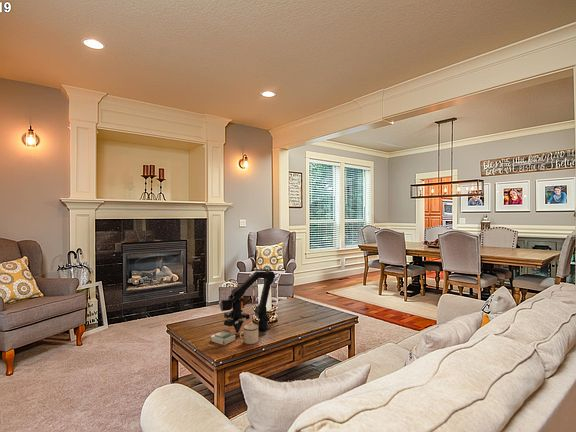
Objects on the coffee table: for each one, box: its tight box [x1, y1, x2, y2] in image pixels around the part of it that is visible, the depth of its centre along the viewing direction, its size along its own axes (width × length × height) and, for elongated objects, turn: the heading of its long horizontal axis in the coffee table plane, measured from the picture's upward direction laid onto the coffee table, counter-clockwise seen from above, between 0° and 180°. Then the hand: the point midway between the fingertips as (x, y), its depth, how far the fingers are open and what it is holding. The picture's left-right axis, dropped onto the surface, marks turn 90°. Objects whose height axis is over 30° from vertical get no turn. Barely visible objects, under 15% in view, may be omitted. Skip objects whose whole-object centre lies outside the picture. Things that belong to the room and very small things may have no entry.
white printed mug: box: [239, 321, 259, 345], centre depth 199 cm, size 12×9×12 cm
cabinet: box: [214, 329, 232, 339], centre depth 202 cm, size 8×6×5 cm
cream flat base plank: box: [210, 331, 236, 346], centre depth 202 cm, size 10×11×3 cm
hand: (237, 332), depth 212 cm, fingers closed
